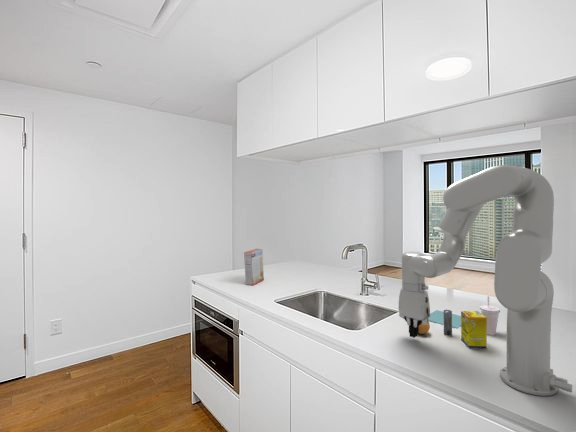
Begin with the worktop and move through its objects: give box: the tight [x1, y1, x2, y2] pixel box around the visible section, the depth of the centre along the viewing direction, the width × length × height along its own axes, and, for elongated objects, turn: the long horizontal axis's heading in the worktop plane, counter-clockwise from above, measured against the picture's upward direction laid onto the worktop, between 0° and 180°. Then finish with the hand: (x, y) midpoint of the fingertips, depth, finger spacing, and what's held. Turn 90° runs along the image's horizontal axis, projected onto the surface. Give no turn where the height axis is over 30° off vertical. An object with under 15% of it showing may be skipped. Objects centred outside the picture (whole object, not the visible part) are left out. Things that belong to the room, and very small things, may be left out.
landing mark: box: [428, 309, 461, 329], centre depth 132 cm, size 14×14×1 cm
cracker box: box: [243, 248, 265, 286], centre depth 200 cm, size 14×6×21 cm, turn 155°
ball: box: [419, 322, 430, 335], centre depth 119 cm, size 6×6×6 cm
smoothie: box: [479, 296, 501, 336], centre depth 117 cm, size 6×6×14 cm
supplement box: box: [460, 310, 488, 349], centre depth 108 cm, size 6×6×11 cm
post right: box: [443, 309, 453, 337], centre depth 117 cm, size 3×3×9 cm
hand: (413, 336), depth 113 cm, fingers closed
